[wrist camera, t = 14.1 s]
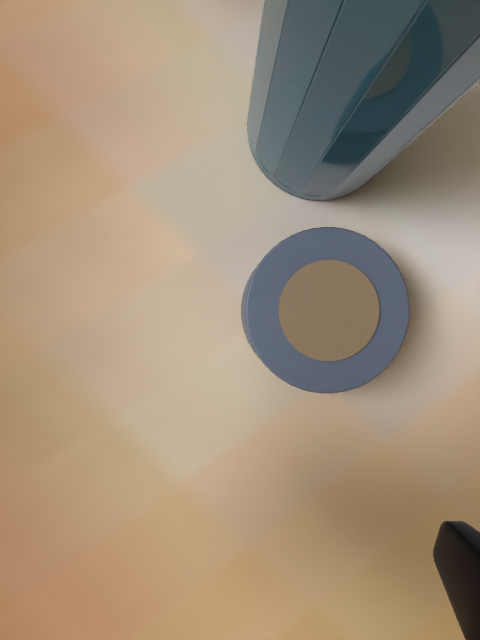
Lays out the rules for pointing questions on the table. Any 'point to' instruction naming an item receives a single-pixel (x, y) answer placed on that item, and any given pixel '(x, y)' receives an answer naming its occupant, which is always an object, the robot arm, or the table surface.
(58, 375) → the table surface
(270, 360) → the tape roll
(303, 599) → the table surface
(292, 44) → the pen pot
